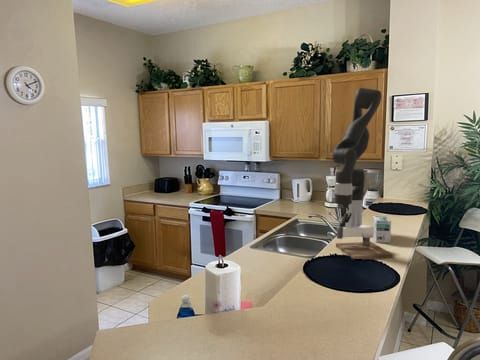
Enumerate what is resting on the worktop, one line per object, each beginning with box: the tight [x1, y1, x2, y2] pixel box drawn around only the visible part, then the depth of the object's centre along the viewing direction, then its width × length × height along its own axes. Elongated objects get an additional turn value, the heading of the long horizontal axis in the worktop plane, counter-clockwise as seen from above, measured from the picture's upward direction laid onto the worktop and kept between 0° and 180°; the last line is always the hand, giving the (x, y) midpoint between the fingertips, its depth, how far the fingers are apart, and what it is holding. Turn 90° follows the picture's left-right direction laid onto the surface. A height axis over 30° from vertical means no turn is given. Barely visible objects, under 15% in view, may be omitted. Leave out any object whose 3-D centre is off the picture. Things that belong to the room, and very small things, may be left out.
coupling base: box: [335, 237, 394, 260], centre depth 151 cm, size 18×17×6 cm
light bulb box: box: [372, 215, 392, 244], centre depth 168 cm, size 11×7×11 cm, turn 168°
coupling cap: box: [336, 224, 374, 240], centre depth 154 cm, size 17×6×5 cm, turn 98°
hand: (342, 230), depth 157 cm, fingers closed
